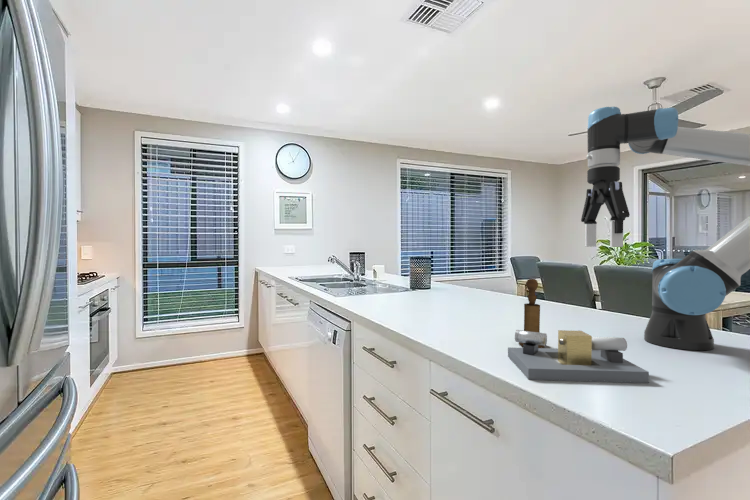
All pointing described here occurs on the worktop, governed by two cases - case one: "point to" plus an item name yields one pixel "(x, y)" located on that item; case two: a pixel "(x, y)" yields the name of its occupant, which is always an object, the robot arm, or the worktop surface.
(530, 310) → the brown tall knobbed post
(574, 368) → the grey frame with rollers
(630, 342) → the worktop surface
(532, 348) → the shaft
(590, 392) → the worktop surface
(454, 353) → the worktop surface
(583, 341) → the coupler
